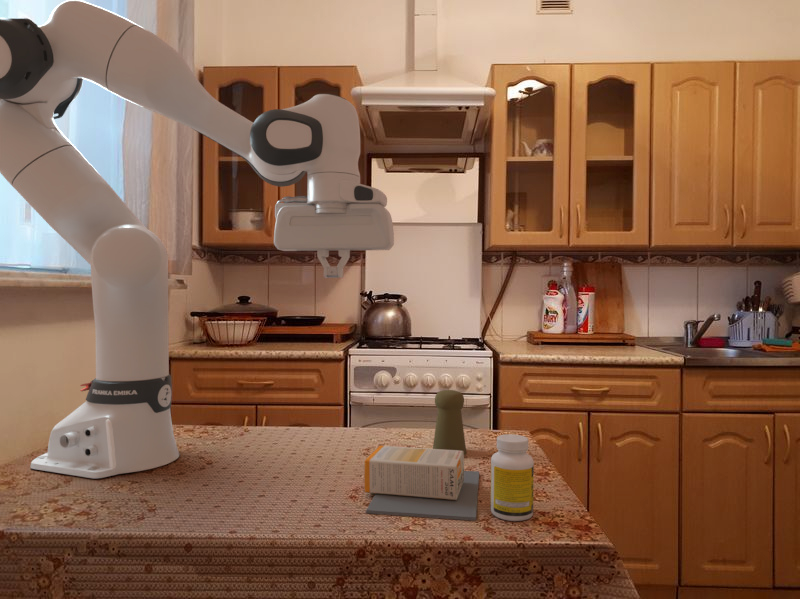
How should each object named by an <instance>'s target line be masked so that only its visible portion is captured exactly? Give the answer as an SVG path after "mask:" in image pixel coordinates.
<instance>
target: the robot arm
mask: <svg viewBox="0 0 800 599" xmlns="http://www.w3.org/2000/svg"><path fill="white" fill-rule="evenodd" d="M84 80H85V81H88V82H91V83H93V84H96V85H97V86H99V87H100V88H103V89H104V90H106V91H108V92H110V93H112V94H113V95H116V96H118V97H119V98H121V99H124V100H125V101H128V102H131V103H132V104H135V105H137V106H139V107H141V108H143V109H146V110H148V111H151V112H153V113H156V114H158V115H160V116H163V117H165V118H168V119H170V120H173V121H175V122H177V123H179V124H181V125H184V126H186V127H188V128H190V129H192V130H193V131H196V132H197V133H199V134H201V135H203V136H205V137H206V138H208V139H210V140H211V141H213V142H215V143H216V144H219V145H220V146H222V147H224V148H226V149H228V150H229V151H230V152H233V153H234V154H236V155H237V156H238V157H241V158H242V159H243V160H245V162H247V163H248V164H249V166H250V167H251V168H252V169H253V171H254V172H255V173H256V174H257V176H259V178H260V179H261V180H263V181H264V182H266V183H267V184H269V185H271V186H274V187H279V188H280V187H288V186H289V187H290V186H292V185H295V184H296V183H298V182H299V181H300V180H302V179H303V177H305V175H306V174H307V180H306V181H307V182H306V183H307V185H306V186H307V189H306V190H307V191H306V193H307V195H298V196H289V195H287V196H283V197H282V198H281V199H279V200H278V201H277V202H276V204H275V206H274V217H275V225H274V232H273V234H274V235H273V246H275V248H276V249H277V250H279V251H283V252H302V251H303V252H306V251H307V252H314V251H315V252H316V251H317V252H316V254H317V255H316V256H317V259H318V260H319V262H320V264H321V266H322V267H323V277H324V278H325V279H327V278H328V279H329V278H332V279H333V278H334V279H335V278H336V279H338V278H341V279H342V278H343V277H344V268H345V266H346V264H347V263H348V261H349V259H350V258H351V257H350V256H351V254H350V253H351V251H390V250H391V249H392V248H393V246H394V244H395V236H394V234H395V233H394V222H393V219H392V215H391V213H390V212H389V210H388V209H387V208H386V206H387V204H388V197H387V195H386V194H385V192H384V191H382V190H380V189H378V188H376V187H372V186H369V185H365V184H364V183H363V184H361V173H360V170H359V159H360V156H361V130H360V120H359V119H360V118H359V115H358V111H357V109H356V107H355V106H354V105H353V103H351V101H349V100H347V99H346V98H344V97H342V96H339V95H336V94H331V93H318V94H315V95H314V96H312V97H311V98H310V99H309V100H307V101H305V102H302V103H299V104H298V105H295V106H290V107H286V108H279V109H277V108H276V109H270V110H267V111H264V112H262V113H261V114H260V115H258V116H257V117H256V119H254V121H252V120H249V119H248V118H246V117H245V116H243V115H241V114H239V113H238V112H236V111H235V110H233V109H231V108H230V107H228V106H226V105H225V104H223V103H221V102H220V101H218V99H216V98H215V97H214V96H212V95H211V93H210V92H208V91H207V89H205V87H204V85H203V84H202V83H201V82H200V81H199V80H198V78H197V77H196V75H195V74H194V73H193V71H192V69H191V67H190V66H189V65H188V63H187V61H186V60H185V58H183V56H182V55H181V53H180V52H178V51H177V50H176V49H175V48H173V47H172V46H171V45H169V43H167V42H166V41H165V40H163V39H162V38H161V37H159V36H158V35H156V34H155V33H154V32H151V31H150V30H148V29H146V28H145V27H143V26H141V25H139V24H137V23H135V22H133V21H131V20H129V19H128V18H125V17H123V16H121V15H119V14H117V13H115V12H113V11H110V10H108V9H105V8H104V7H101V6H98V5H96V4H92V3H90V2H87V1H83V0H65V1H63V2H61V3H59V4H58V5H57V6H56V7H54V9H53V10H52V11H51V14H50V15H49V17H48V19H47V21H46V22H45V23H44V24H42V25H38V24H37V23H35V22H34V21H33V20H32V19H30V18H27V17H0V174H1V176H3V178H4V179H5V180H6V181H7V183H9V184H10V185H11V186H12V187H13V189H15V191H17V193H19V195H20V196H21V197H22V198H23V199H24V200H25V201H26V202H27V203H28V204H29V205H30V207H32V208H33V210H34V211H35V212H36V213H37V214H38V215H39V216H40V217H41V218H42V219H43V220H44V221H45V222H46V224H47V225H49V226H50V227H51V228H52V229H53V230H54V231H55V232H56V234H58V235H59V236H60V237H61V238H62V239H63V240H64V241H65V242H66V243H68V244H69V246H71V247H72V248H73V249H74V250H75V251H76V252H77V254H79V256H80V257H82V259H84V260H85V261H86V262H87V264H89V266H90V275H91V276H90V279H91V294H92V296H91V297H92V308H93V319H94V326H95V327H94V328H95V330H94V332H95V378H94V379H92V380H91V381H90V382H87V383H81V384H80V387H83V388H81V389H80V392H86V391H88V392H87V395H86V397H85V402H83V403H82V404H81V405H79V406H78V407H77V408H76V409H74V410H73V411H72V412H71V413H69V414H68V415H67V416H65V417H64V418H63V419H61V420H60V421H59V422H58V423H56V424H55V425H54V427H52V430H51V431H50V435H49V438H48V445H47V452H45V453H43V454H40V455H39V456H37V457H36V458H34V459H33V460H32V461H30V462H31V463H30V469H32V470H39V471H45V472H50V473H57V474H63V475H69V476H74V477H75V476H76V477H82V478H87V479H103V478H107V477H108V478H109V477H111V476H116V475H122V474H129V473H135V472H141V471H147V470H152V469H156V468H158V467H162V466H165V465H167V464H170V463H172V462H174V461H176V460H177V459H178V458H179V457H180V452H179V449H178V445H177V442H176V439H175V435H174V434H175V433H174V428H173V423H172V422H173V421H172V416H171V414H172V413H171V406H172V399H173V398H172V397H173V390H172V389H173V387H172V385H173V384H172V375H171V374H170V371H169V370H170V364H169V360H170V358H169V357H170V356H169V353H170V351H169V348H170V347H169V345H170V344H169V343H170V342H169V339H170V338H169V330H170V329H169V255H168V253H167V252H168V251H167V249H166V246H165V244H164V243H163V241H162V239H161V238H160V237H159V236H157V234H155V232H153V231H152V230H151V229H150V230H149V229H148V228H147V227H146V226H145V225H144V224H143V223H142V221H141V220H140V219H139V218H138V217H137V216H136V214H135V213H134V212H133V211H132V210H131V209H130V208H129V206H128V205H127V204H126V203H125V202H124V200H123V199H122V198H121V197H120V196H119V195H118V193H117V192H116V191H115V190H114V188H113V187H112V186H111V185H110V184H109V183H108V182H107V180H105V179H104V178H103V176H102V175H101V174H100V173H99V172H98V171H97V169H95V167H94V166H93V165H92V164H91V163H90V162H89V161H88V160H87V159H86V157H85V156H84V155H83V154H82V153H81V152H80V151H79V150H78V148H77V147H76V146H75V145H74V144H73V143H72V142H71V140H70V139H68V138H67V137H66V135H65V134H64V133H63V132H62V131H61V130H60V129H59V127H58V125H57V124H56V122H55V120H56V119H60V118H62V117H63V116H64V115H65V114H66V112H67V110H68V108H69V107H70V105H71V104H72V103H73V102H74V101H75V100H76V99H77V98H78V96H79V95H80V92H81V91H82V88H83V84H84ZM331 251H333V252H334V251H337V252H338V257H341V258H340V260H339V262H338V263H337V265H336V266H331V265H330V263H329V262H328V260H327V258H329V256H330V253H329V252H331ZM343 279H344V278H343Z"/></svg>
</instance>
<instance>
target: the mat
mask: <svg viewBox="0 0 800 599" xmlns="http://www.w3.org/2000/svg"><path fill="white" fill-rule="evenodd" d="M479 481H480V471H478V470H464V482H463V485H462V487H461V490H460V493H459V495H458V498H457V500H450V499H439V498H427V497H415V496H403V495H391V494H379V493H374V496H373V497H372V499H371V501H370V502H369V505H368V506H367V508H366V509H365V513H366V514H370V515H371V514H372V515H374V514H375V515H388V516H401V517H417V518H429V519H430V518H432V519H445V520H446V519H447V520H457V521H458V520H461V521H475V522H476V521H477V512H478V511H477V509H478V496H479Z"/></svg>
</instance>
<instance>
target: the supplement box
mask: <svg viewBox="0 0 800 599" xmlns="http://www.w3.org/2000/svg"><path fill="white" fill-rule="evenodd" d="M464 471H465V455H464V451H459V450H443V449H433V448H427V447H426V448H423V447H422V448H421V447H405V446H394V445H393V446H391V445H379V446H378V447H377V448H375V450H373V452H372V453H371V454H370V455H369V456H368V457H367V458H366V459H365V460H364V466H363V475H364V476H363V477H364V478H363V479H364V485H363V486H364V487H363V488H364V489H363V490H364V492H365V493H370V494H376V493H379V494H391V495H403V496H415V497H427V498H439V499H450V500H457V498H458V495H459V493H460V490H461V487H462V485H463V482H464Z"/></svg>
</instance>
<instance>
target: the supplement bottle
mask: <svg viewBox="0 0 800 599" xmlns="http://www.w3.org/2000/svg"><path fill="white" fill-rule="evenodd" d="M496 449H497V450H498V451H496V452H495V453H493V454H492V456H491V459H490V513H491V514H492V515H493V516H494V517H496V518H498V519H501V520H504V521H510V522H521V521H526V520H529V519H531V518H532V516H533V515H534V478H535V477H534V475H535V474H534V473H535V472H534V470H535V469H534V468H535V467H534V466H535V465H534V459H533V456H531V455H530V454H528V453H527V452H528V450H529V438H528V437H526V436H524V435H520V434H513V433H512V434H511V433H509V434H508V433H507V434H500V435H498V436H496Z"/></svg>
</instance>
